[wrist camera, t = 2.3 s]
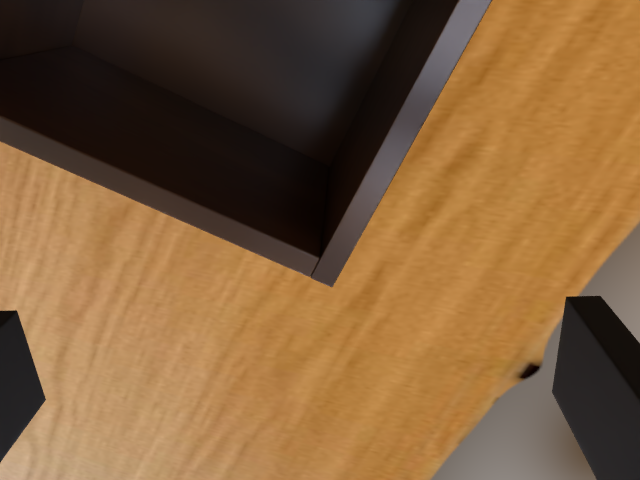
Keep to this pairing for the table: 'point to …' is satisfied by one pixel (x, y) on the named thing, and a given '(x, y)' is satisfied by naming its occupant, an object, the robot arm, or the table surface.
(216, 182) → the chest
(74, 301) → the table surface
